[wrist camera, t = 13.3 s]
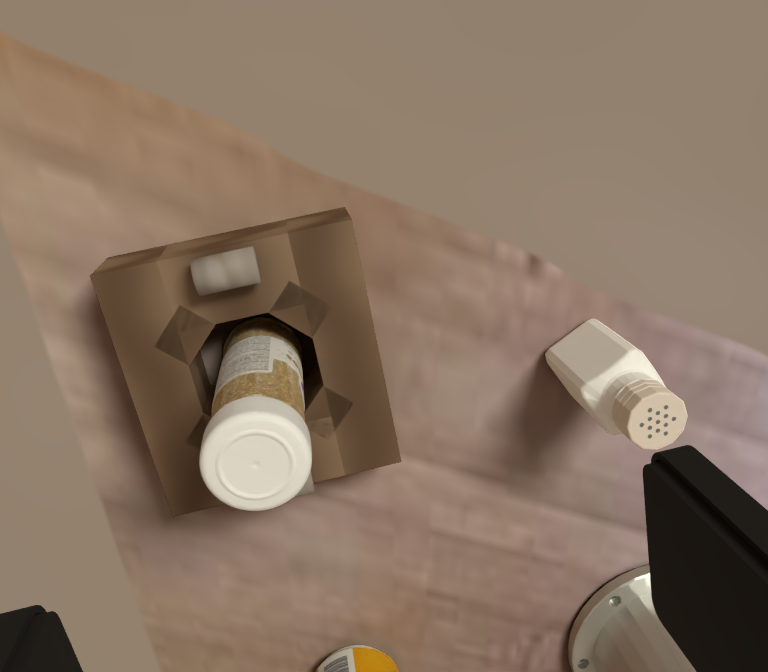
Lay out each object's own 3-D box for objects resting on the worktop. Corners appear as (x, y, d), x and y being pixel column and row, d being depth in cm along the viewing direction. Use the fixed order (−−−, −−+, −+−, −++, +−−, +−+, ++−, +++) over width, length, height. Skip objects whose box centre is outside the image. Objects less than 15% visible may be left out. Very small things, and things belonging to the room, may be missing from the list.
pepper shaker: (538, 351, 44) (605, 418, 35) (591, 311, 44) (672, 368, 35) (571, 397, 45) (643, 472, 36) (623, 358, 45) (709, 425, 36)
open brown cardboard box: (344, 207, 39) (355, 225, 34) (390, 430, 44) (406, 477, 39) (107, 257, 38) (80, 285, 33) (181, 479, 43) (167, 535, 38)
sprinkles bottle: (310, 377, 42) (324, 499, 30) (234, 396, 42) (216, 527, 29) (290, 305, 41) (296, 401, 28) (211, 324, 40) (182, 431, 28)
